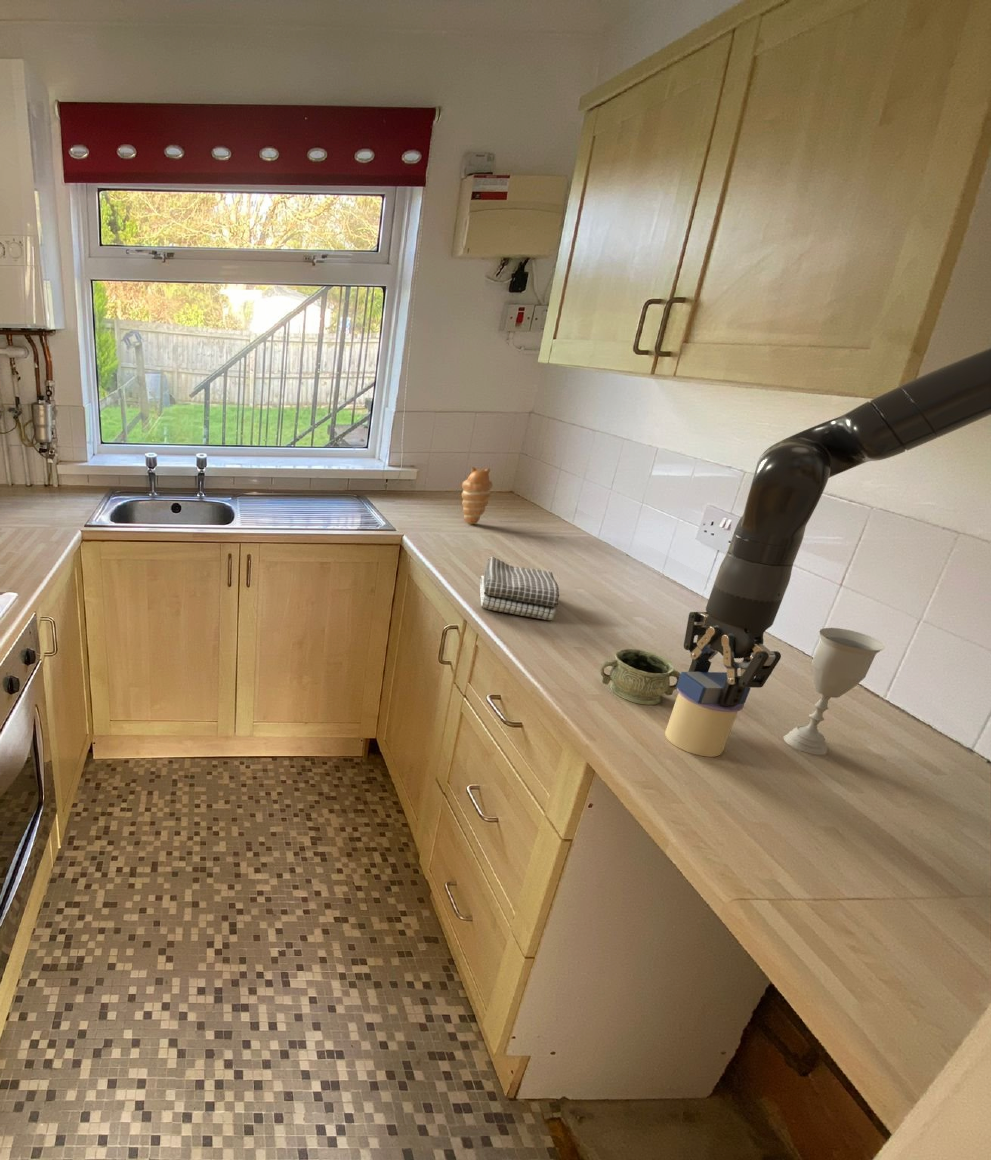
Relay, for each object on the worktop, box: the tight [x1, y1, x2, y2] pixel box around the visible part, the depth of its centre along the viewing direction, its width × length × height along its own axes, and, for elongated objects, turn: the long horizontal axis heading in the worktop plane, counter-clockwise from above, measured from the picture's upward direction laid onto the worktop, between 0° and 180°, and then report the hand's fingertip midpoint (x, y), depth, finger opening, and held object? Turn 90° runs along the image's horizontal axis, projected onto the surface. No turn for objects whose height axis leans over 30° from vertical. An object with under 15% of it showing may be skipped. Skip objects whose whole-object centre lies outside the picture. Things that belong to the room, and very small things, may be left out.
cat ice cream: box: [461, 466, 494, 525], centre depth 199 cm, size 9×8×18 cm
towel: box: [478, 556, 560, 621], centre depth 143 cm, size 15×18×8 cm
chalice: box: [782, 627, 886, 756], centre depth 93 cm, size 7×7×18 cm
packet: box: [676, 671, 751, 705], centre depth 93 cm, size 7×5×3 cm, turn 92°
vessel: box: [599, 648, 681, 706], centre depth 108 cm, size 12×9×6 cm
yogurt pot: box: [664, 688, 745, 758], centre depth 95 cm, size 8×8×8 cm
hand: (710, 693), depth 93 cm, fingers open, 5 cm apart
